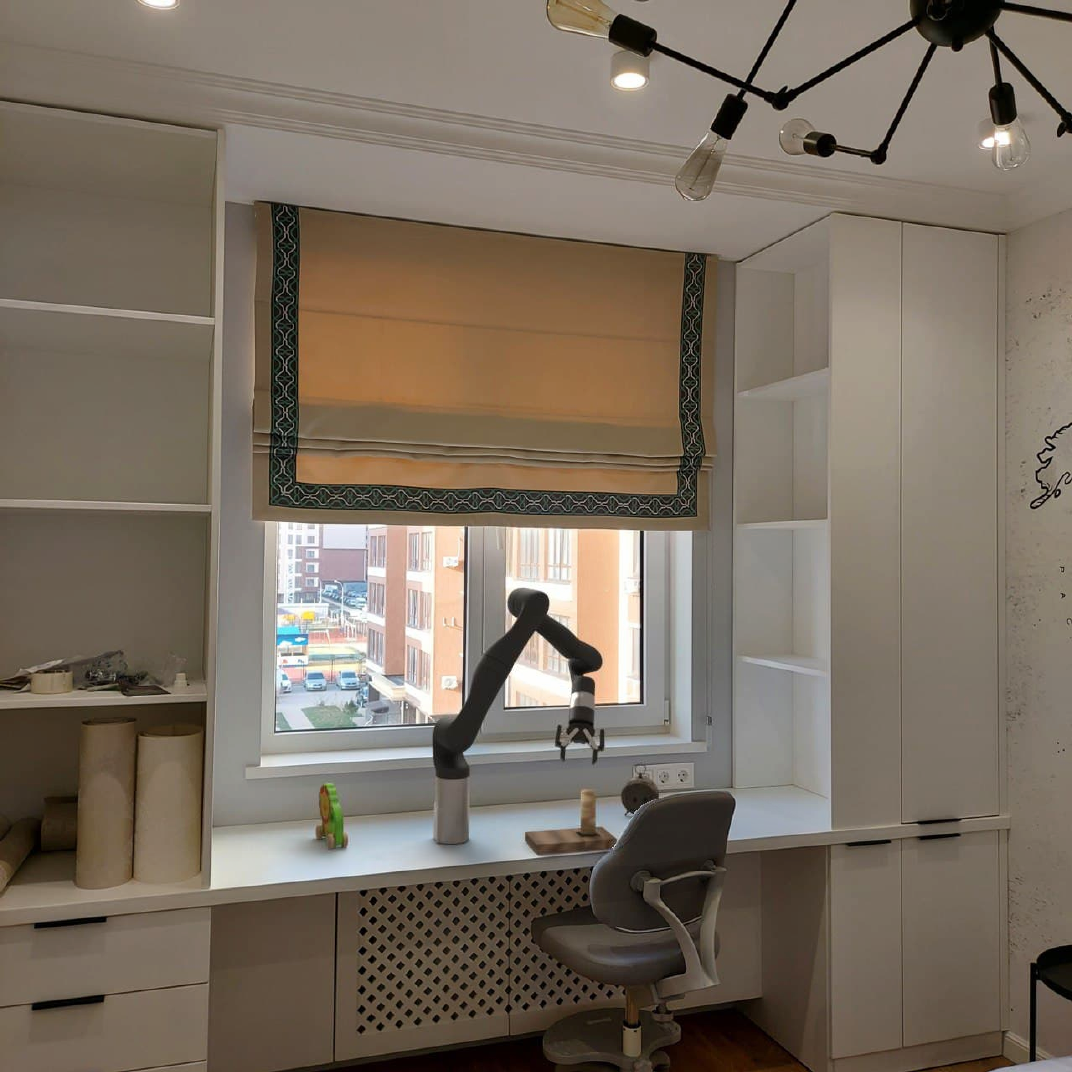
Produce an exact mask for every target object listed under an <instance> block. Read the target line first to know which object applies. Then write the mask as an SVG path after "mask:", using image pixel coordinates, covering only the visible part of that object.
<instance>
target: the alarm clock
mask: <svg viewBox="0 0 1072 1072" xmlns="http://www.w3.org/2000/svg"><path fill="white" fill-rule="evenodd" d="M639 765H642V766H643V767H644V772H638V771H637V770H636V768H637V767H638V766H639ZM646 770H647V767H646V765H645V764H643V763H640V762H639V763H637V764H635V766H634V771H635V773H636V774H637V775H636V776H633V777H630V778H629V779H628V780H627V781H626V782H625V784H624V785H623V787H622V788H621V789H622V790H621V794H620V800H621V803H622V805H623V807H624V808H625V810H626V812H625V813H624V816H625V817H626V816H627V815H628V814H629V813H630V814H632V815H634V812H635V811H636V810H638V809H639V808H640V806H641V805H643V804H645V803H647V802H649V801H651V800H654V799H660V793H659V788H658V786H657V785H656V783H655V782H654V781H653V780H652V779H651V778H649V777H647V776H642V775H644V774H645V772H646Z"/></svg>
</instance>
